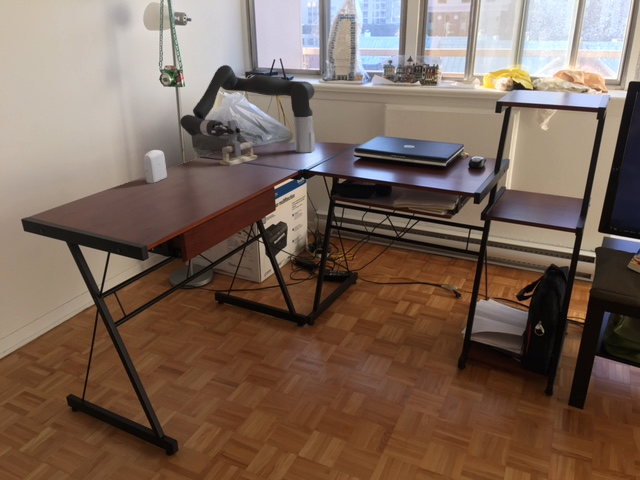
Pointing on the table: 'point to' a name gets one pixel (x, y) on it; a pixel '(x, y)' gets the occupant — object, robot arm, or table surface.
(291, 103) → the robot arm
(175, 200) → the table surface
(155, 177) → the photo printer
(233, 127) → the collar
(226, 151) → the pipe stand
